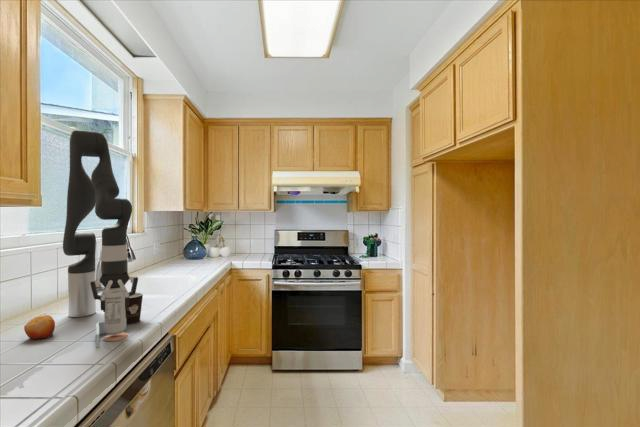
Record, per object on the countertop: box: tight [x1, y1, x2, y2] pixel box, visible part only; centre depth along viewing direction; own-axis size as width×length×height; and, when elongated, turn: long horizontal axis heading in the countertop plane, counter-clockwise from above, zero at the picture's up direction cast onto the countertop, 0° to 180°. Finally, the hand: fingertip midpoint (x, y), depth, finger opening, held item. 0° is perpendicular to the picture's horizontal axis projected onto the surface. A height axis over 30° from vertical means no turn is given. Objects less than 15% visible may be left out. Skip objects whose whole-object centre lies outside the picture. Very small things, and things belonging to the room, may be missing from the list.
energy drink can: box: [103, 287, 127, 335], centre depth 117 cm, size 6×6×15 cm
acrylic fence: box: [95, 320, 127, 349], centre depth 117 cm, size 14×9×4 cm, turn 32°
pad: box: [102, 332, 129, 342], centre depth 117 cm, size 7×7×1 cm
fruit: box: [23, 314, 56, 340], centre depth 118 cm, size 8×8×8 cm
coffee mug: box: [125, 292, 144, 326], centre depth 133 cm, size 12×9×10 cm
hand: (115, 309), depth 117 cm, fingers closed on energy drink can, 5 cm apart
